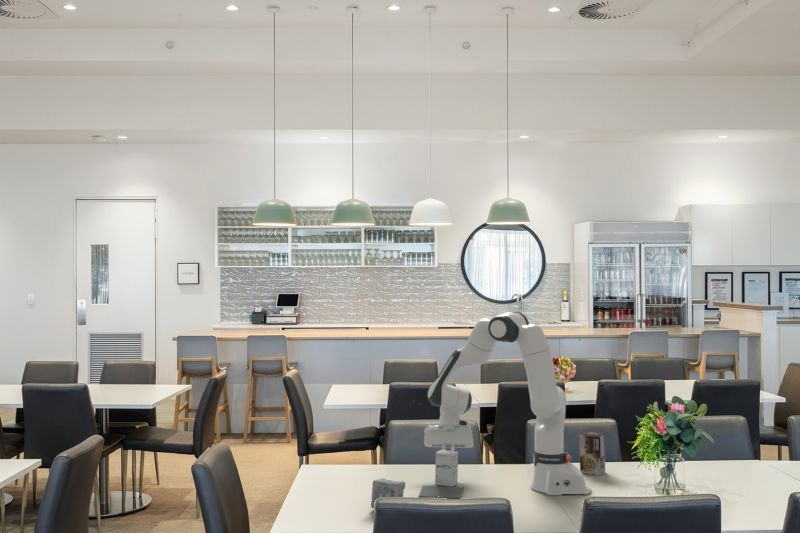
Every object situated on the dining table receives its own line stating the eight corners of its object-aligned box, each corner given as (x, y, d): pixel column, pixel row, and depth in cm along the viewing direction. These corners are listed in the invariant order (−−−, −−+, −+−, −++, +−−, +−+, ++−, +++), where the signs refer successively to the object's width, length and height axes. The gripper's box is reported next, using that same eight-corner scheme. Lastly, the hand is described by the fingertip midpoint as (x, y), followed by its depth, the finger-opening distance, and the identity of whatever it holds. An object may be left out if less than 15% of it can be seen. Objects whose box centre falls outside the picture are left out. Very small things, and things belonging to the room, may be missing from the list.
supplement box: (434, 485, 277) (434, 452, 278) (440, 481, 284) (440, 449, 285) (452, 487, 275) (452, 454, 275) (458, 483, 281) (458, 450, 282)
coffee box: (605, 472, 295) (605, 433, 295) (601, 476, 289) (600, 436, 290) (584, 469, 300) (583, 431, 300) (579, 473, 294) (578, 434, 294)
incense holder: (405, 508, 252) (405, 478, 252) (395, 515, 244) (394, 485, 245) (381, 504, 256) (381, 475, 257) (370, 511, 249) (370, 481, 249)
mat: (463, 488, 274) (463, 487, 274) (461, 498, 262) (461, 497, 262) (422, 486, 277) (422, 485, 277) (418, 497, 264) (418, 496, 264)
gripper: (424, 421, 295) (421, 450, 285) (473, 422, 292) (472, 452, 282) (425, 429, 299) (422, 459, 290) (473, 430, 296) (473, 460, 287)
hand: (447, 455), depth 286 cm, fingers closed
